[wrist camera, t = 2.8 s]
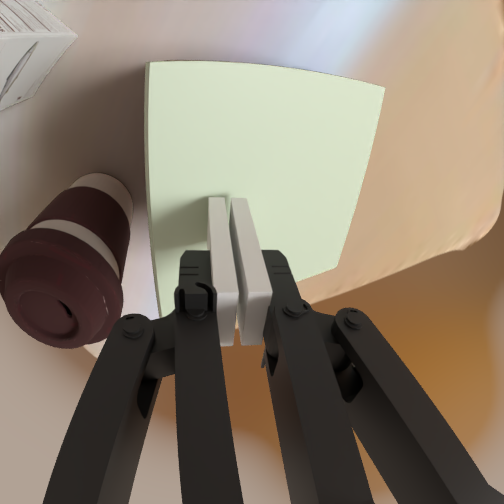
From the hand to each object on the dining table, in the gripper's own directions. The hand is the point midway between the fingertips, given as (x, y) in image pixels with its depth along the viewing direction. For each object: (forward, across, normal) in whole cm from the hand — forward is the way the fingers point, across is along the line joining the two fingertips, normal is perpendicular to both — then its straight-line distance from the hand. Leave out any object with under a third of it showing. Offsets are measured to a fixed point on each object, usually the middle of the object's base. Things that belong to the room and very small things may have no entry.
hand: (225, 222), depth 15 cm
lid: (+3, +3, 0) cm, 4 cm away
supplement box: (+14, -18, +11) cm, 25 cm away
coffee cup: (+14, -11, -6) cm, 19 cm away
